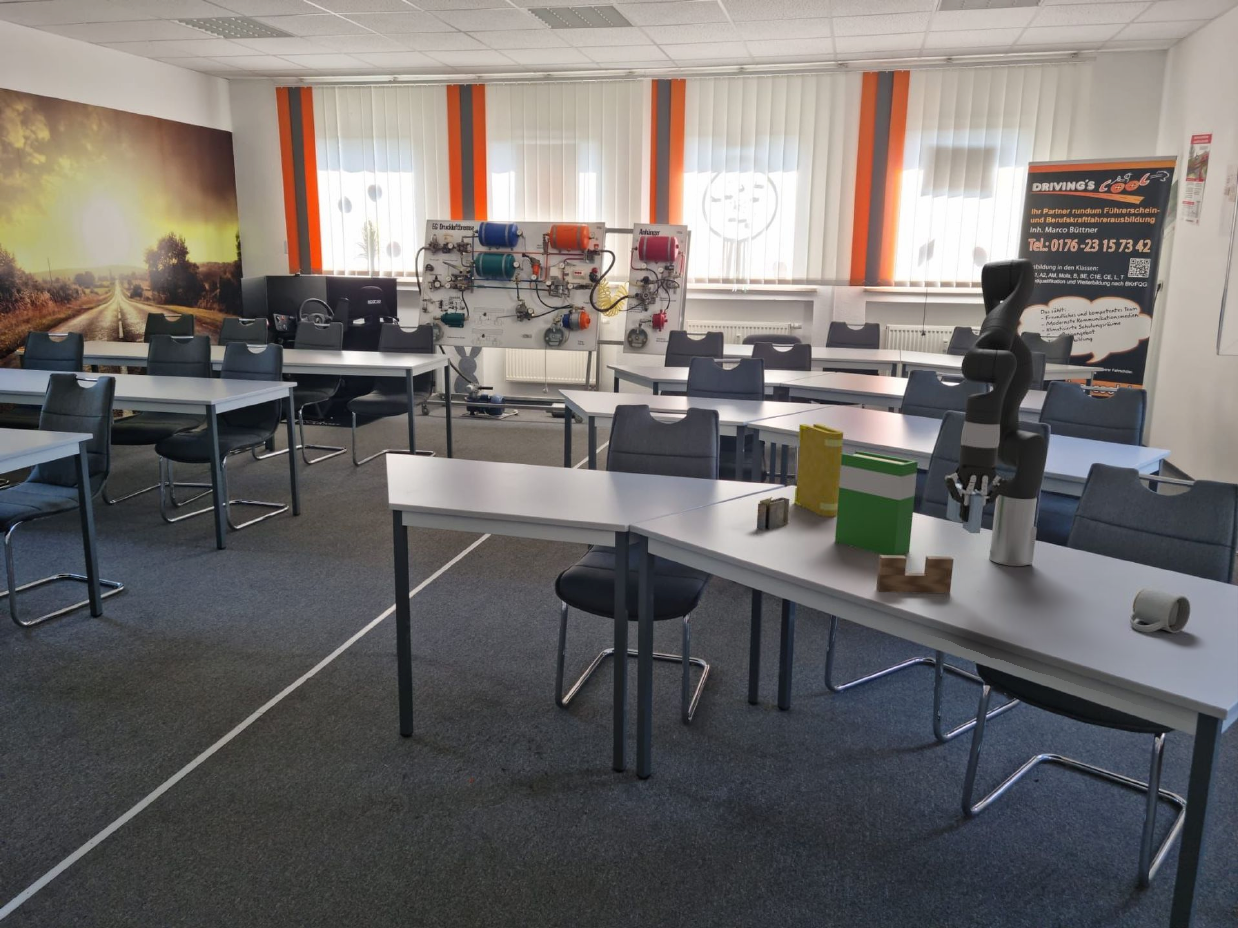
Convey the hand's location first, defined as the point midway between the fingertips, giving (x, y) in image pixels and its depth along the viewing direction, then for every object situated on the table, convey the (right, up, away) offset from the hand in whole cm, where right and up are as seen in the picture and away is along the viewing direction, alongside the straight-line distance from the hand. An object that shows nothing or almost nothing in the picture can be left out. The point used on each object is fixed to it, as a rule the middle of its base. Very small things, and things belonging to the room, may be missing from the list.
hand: (970, 521), depth 192 cm
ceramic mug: (+34, -21, -11) cm, 41 cm away
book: (-16, -2, +78) cm, 79 cm away
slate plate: (0, -1, +4) cm, 4 cm away
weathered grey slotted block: (-33, -6, +58) cm, 67 cm away
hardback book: (-10, -10, +40) cm, 43 cm away
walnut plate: (-10, -16, +7) cm, 20 cm away
